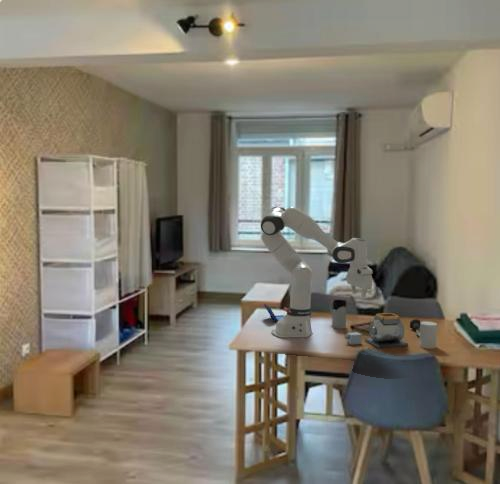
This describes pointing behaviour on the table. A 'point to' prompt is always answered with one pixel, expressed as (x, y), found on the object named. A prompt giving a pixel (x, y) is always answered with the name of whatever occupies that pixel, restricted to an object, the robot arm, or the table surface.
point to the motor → (386, 331)
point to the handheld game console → (273, 314)
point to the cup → (428, 335)
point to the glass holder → (338, 314)
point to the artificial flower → (415, 326)
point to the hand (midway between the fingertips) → (359, 295)
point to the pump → (353, 338)
